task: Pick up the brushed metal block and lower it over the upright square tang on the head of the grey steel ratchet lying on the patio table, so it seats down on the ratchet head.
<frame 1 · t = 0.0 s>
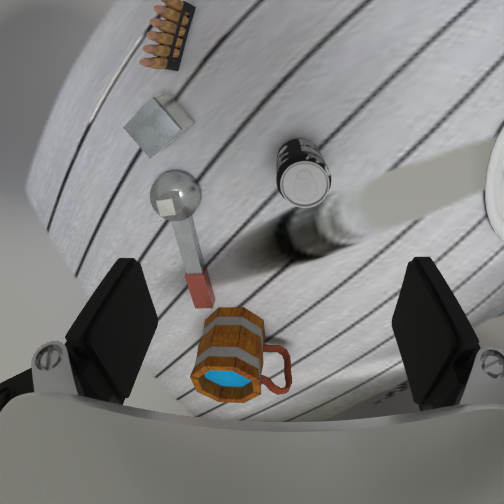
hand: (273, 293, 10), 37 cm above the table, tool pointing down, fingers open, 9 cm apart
ratchet: (177, 193, 49), on the table
ammunition clip: (181, 37, 35), on the table
beverage can: (298, 158, 44), on the table
mug: (249, 331, 65), on the table
brushed metal block: (168, 120, 42), on the table
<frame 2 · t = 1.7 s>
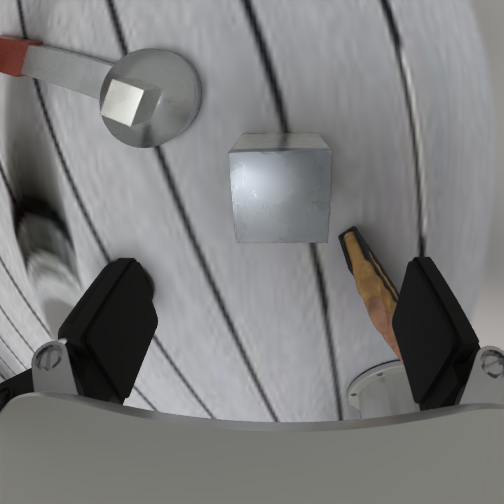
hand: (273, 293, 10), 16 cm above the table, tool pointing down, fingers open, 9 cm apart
ratchet: (155, 96, 22), on the table
ammunition clip: (372, 268, 29), on the table
beverage can: (129, 281, 32), on the table
brushed metal block: (281, 168, 24), on the table
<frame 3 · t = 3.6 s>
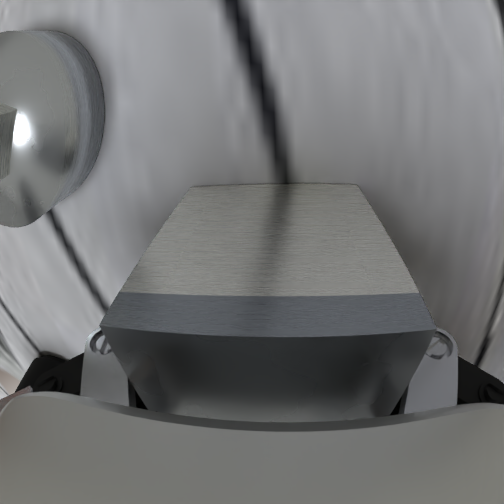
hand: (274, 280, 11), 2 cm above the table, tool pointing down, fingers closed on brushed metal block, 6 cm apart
ratchet: (32, 119, 9), on the table
beverage can: (69, 375, 20), on the table
brushed metal block: (275, 255, 12), on the table, touching gripper
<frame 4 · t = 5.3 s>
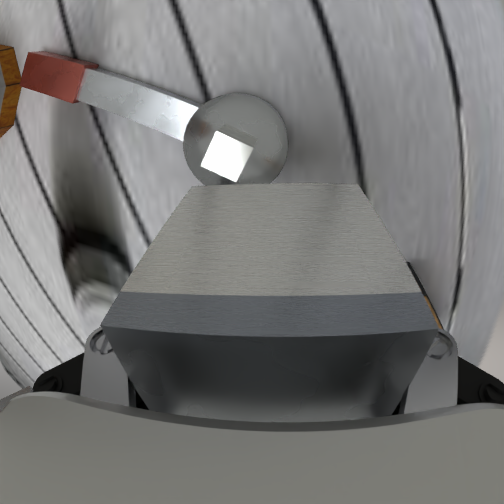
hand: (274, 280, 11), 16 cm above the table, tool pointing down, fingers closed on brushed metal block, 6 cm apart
ratchet: (238, 140, 24), on the table
ammunition clip: (418, 295, 31), on the table
brushed metal block: (276, 255, 12), point 15 cm above the table, touching gripper
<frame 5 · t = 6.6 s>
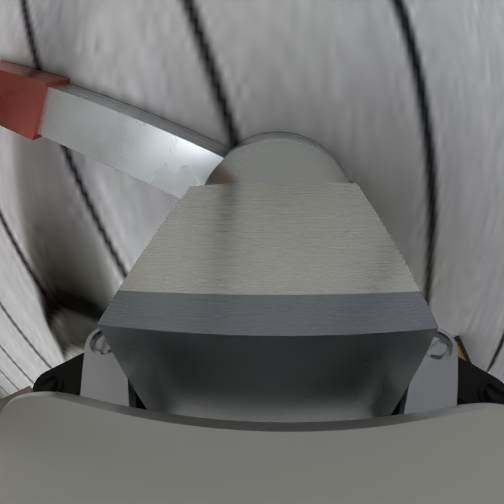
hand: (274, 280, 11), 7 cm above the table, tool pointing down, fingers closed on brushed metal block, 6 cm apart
ratchet: (278, 201, 17), on the table
ammunition clip: (458, 362, 24), on the table
brushed metal block: (275, 254, 12), point 6 cm above the table, touching gripper
when the fingers open (5 cm above the table, at t = 7.5 s): brushed metal block stays where it is, resting on ratchet.
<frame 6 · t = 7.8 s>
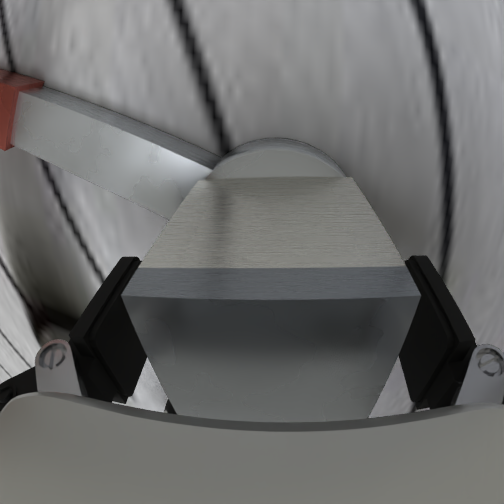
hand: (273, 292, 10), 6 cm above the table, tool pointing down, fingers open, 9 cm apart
ratchet: (276, 217, 15), on the table
brushed metal block: (276, 244, 13), point 2 cm above the table, touching ratchet
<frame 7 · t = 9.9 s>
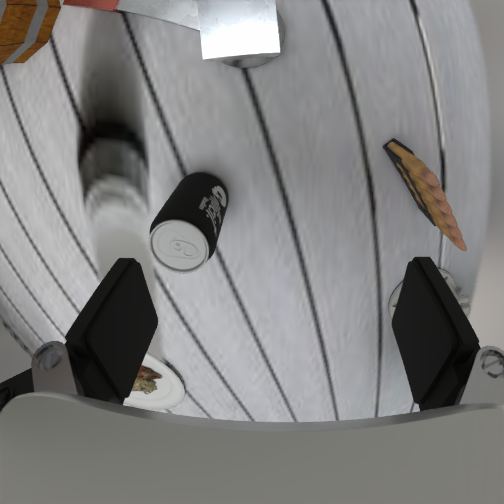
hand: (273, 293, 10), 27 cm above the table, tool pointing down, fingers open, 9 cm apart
ratchet: (245, 34, 26), on the table
ammunition clip: (407, 174, 34), on the table
beverage can: (203, 195, 37), on the table
plated food: (124, 371, 63), on the table
mug: (16, 38, 23), on the table
brushed metal block: (244, 31, 24), point 2 cm above the table, touching ratchet
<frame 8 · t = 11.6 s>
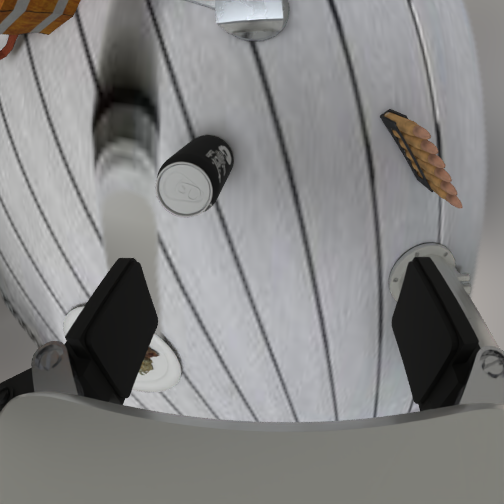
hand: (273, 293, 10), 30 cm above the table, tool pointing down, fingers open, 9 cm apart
ratchet: (254, 12, 27), on the table
ammunition clip: (404, 145, 35), on the table
beverage can: (209, 158, 38), on the table
plated food: (121, 349, 63), on the table
mug: (42, 12, 26), on the table
brushed metal block: (253, 8, 25), point 2 cm above the table, touching ratchet
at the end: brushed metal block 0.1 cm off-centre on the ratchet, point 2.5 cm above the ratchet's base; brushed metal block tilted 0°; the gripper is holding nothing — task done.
